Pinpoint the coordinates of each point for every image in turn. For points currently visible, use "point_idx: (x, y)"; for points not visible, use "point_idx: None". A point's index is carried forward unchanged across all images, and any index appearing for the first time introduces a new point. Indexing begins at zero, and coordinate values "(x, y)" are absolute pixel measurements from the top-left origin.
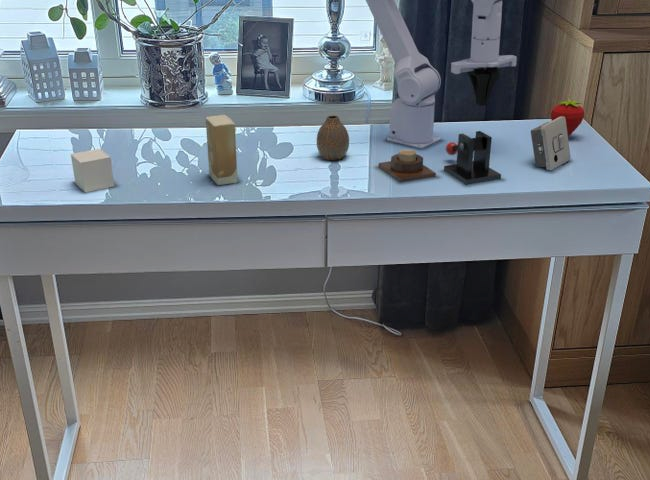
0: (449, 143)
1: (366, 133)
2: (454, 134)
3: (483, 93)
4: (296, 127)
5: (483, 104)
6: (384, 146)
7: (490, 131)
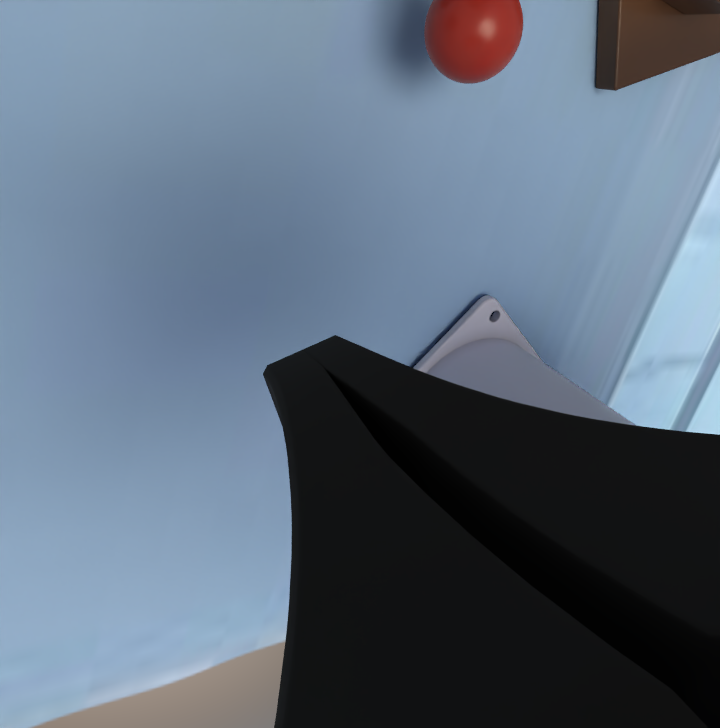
0: (518, 31)
1: None
2: (261, 520)
3: (427, 392)
4: None
5: (319, 348)
6: (596, 335)
7: (36, 603)
